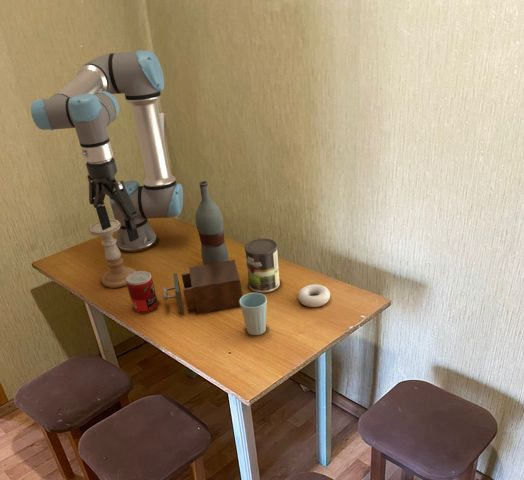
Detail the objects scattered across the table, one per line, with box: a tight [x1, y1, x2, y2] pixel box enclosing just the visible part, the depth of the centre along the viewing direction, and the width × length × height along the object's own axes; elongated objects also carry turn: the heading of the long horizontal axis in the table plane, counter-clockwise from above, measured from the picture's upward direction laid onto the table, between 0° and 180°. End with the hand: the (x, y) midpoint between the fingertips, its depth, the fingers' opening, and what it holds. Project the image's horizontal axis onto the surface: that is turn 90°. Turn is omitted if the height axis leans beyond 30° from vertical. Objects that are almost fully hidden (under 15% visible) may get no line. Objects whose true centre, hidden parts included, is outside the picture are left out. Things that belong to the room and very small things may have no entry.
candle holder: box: [88, 218, 137, 289], centre depth 178 cm, size 12×12×20 cm
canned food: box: [126, 270, 159, 314], centre depth 166 cm, size 8×8×11 cm
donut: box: [297, 283, 331, 308], centre depth 163 cm, size 10×3×10 cm
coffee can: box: [244, 238, 281, 294], centre depth 169 cm, size 10×10×14 cm
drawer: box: [162, 272, 196, 314], centre depth 165 cm, size 18×11×8 cm, turn 100°
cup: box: [239, 292, 268, 336], centre depth 151 cm, size 8×8×10 cm
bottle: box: [194, 180, 229, 265], centre depth 177 cm, size 9×9×30 cm
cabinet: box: [188, 259, 243, 315], centre depth 166 cm, size 15×13×10 cm
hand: (120, 233), depth 152 cm, fingers open, 13 cm apart
